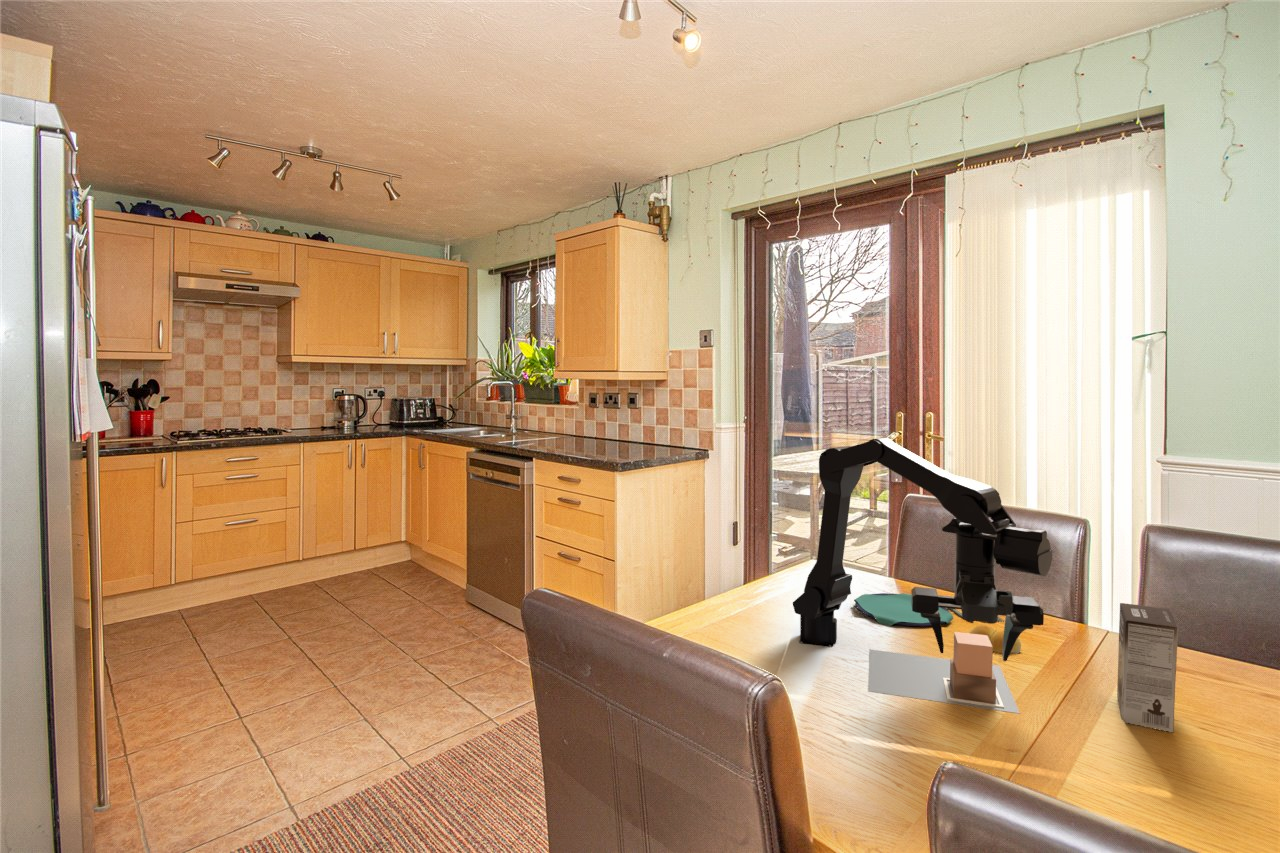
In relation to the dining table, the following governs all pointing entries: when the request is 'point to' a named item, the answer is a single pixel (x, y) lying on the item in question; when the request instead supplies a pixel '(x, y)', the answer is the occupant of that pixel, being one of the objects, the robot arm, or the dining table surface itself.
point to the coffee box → (1147, 666)
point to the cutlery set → (898, 610)
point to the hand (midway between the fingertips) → (972, 656)
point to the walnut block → (972, 686)
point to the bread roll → (995, 638)
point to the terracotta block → (973, 654)
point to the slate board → (927, 680)
